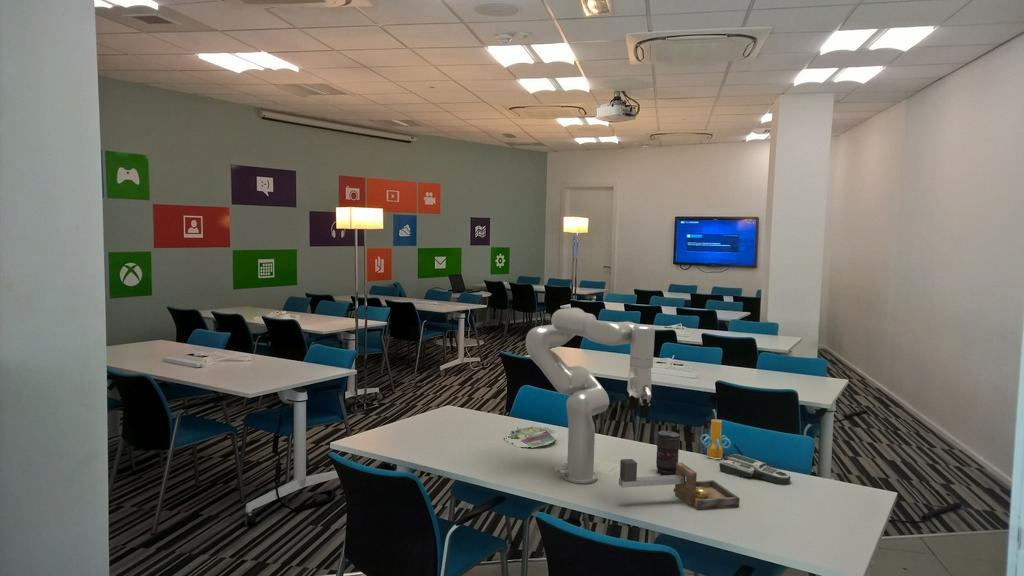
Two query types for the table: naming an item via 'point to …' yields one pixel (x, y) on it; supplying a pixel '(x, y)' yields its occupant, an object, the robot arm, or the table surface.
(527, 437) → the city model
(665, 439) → the camera lens
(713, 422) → the orange vase with handles
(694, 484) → the guide frame
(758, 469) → the communication device
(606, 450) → the table surface
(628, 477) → the grey sliding bolt
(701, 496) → the gold dome
